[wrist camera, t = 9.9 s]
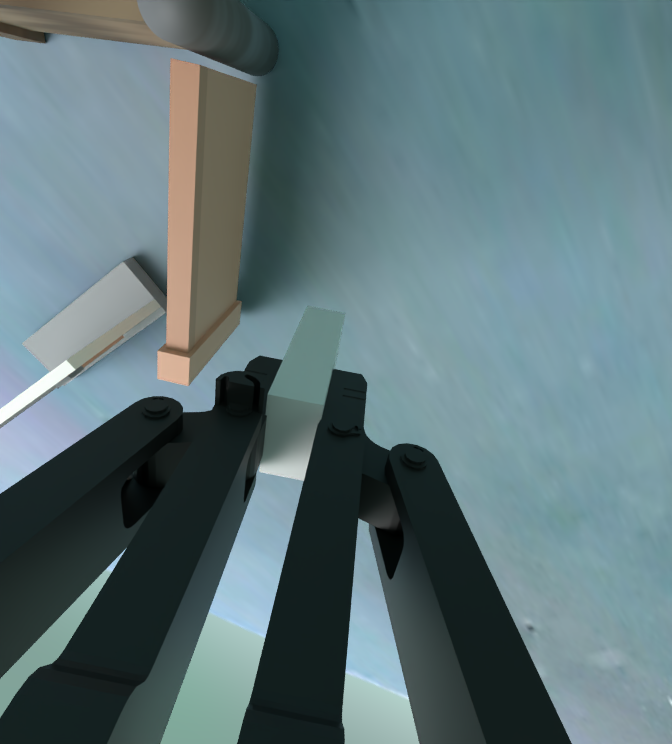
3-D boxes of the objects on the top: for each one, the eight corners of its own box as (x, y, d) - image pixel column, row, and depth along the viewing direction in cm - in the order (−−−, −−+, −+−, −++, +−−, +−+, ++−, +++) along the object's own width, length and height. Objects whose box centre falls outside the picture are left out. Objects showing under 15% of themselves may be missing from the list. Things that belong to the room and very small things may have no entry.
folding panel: (233, 79, 23) (158, 55, 16) (263, 86, 23) (202, 65, 16) (216, 318, 30) (157, 378, 23) (239, 323, 30) (188, 385, 23)
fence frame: (15, 46, 25) (-196, -2, 16) (4, -10, 23) (-230, -95, 15) (277, 78, 24) (208, 47, 15) (279, 22, 23) (206, -47, 14)
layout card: (74, 378, 35) (-39, 463, 26) (33, 337, 33) (-100, 411, 24) (174, 306, 31) (83, 377, 22) (132, 256, 30) (18, 310, 21)
